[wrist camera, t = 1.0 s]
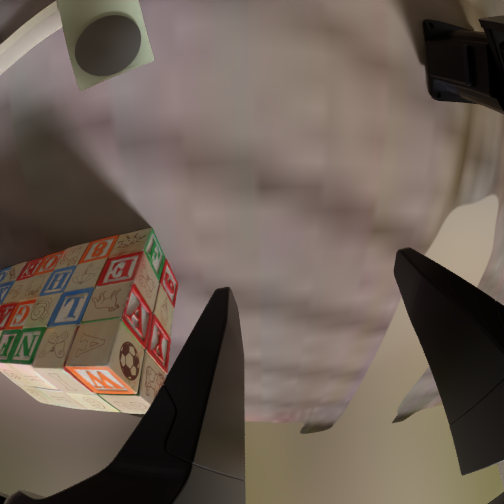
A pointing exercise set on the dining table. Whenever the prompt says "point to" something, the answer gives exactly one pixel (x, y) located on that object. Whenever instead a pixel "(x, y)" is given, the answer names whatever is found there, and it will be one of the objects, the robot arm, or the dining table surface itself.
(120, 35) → the lever
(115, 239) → the stack of blocks
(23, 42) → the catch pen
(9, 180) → the dining table surface
